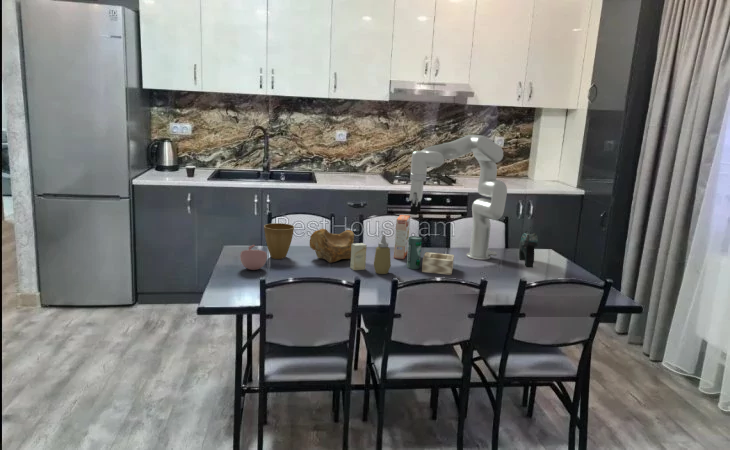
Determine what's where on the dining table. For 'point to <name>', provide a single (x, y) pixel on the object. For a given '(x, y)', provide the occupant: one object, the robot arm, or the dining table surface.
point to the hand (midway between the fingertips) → (415, 212)
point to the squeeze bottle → (382, 257)
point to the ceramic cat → (528, 248)
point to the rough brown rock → (332, 245)
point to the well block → (438, 263)
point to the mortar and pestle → (253, 258)
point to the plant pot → (278, 239)
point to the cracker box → (402, 236)
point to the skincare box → (358, 256)
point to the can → (414, 252)
